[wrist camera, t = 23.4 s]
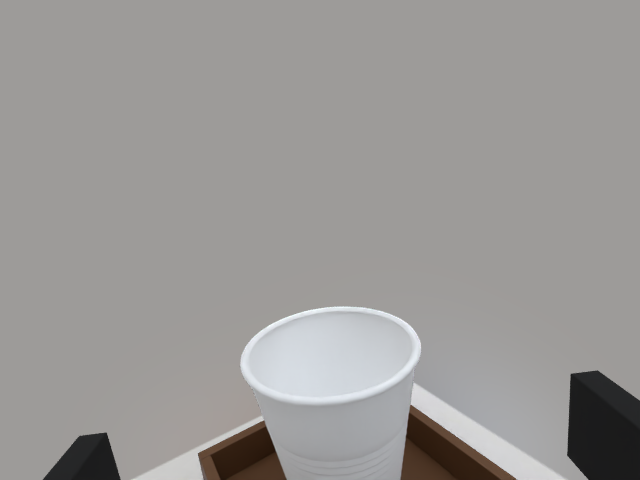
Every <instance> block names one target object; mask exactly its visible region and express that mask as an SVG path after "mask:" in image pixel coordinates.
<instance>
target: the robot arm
mask: <svg viewBox="0 0 640 480" xmlns="http://www.w3.org/2000/svg"><path fill="white" fill-rule="evenodd" d="M567 456H568V457H569V458H570V459H571V460H572V461H573V463H574V464H575V465H576V466H577V467H578V468H579V469H580V471H581V472H582V473H583V474H584V475H585V476H586V477H587V478H588V480H640V401H639V400H638V399H637V398H635V397H634V396H632V395H631V394H630V393H628V392H627V391H625V390H624V389H623V388H621V387H620V386H618V385H617V384H616V383H614V382H613V381H611V380H610V379H609V378H607V377H606V376H605V375H603V374H602V373H600V372H599V371H590V372H582V373H574V374H571V381H570V405H569V429H568V452H567ZM43 480H120V476H119V473H118V469H117V466H116V463H115V459H114V456H113V452H112V449H111V446H110V442H109V439H108V436H107V433H99V434H91V435H83V436H79V437H78V438H77V439H76V441H75V442H74V443H73V444H72V445H71V447H70V448H69V449H68V450H67V451H66V453H65V454H64V455H63V456H62V457H61V459H60V460H59V461H58V462H57V464H56V465H55V466H54V467H53V468H52V469H51V470H50V472H49V473H48V474H47V475H46V476H45V478H44V479H43Z"/></svg>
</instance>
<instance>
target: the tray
mask: <svg viewBox="0 0 640 480" xmlns="http://www.w3.org/2000/svg"><path fill="white" fill-rule="evenodd" d="M198 456H199V461H200V465H201V470H202V474H203V479H204V480H287V479H286V476H285V473H284V471H283V468H282V466H281V463H280V460H279V458H278V455H277V452H276V450H275V447H274V445H273V442H272V439H271V437H270V434H269V432H268V429H267V427H266V424H265V421H262V422H260V423H258V424H256V425H254V426H252V427H250V428H248V429H246V430H244V431H242V432H240V433H238V434H236V435H234V436H232V437H230V438H228V439H226V440H224V441H222V442H220V443H218V444H216V445H214V446H212V447H210V448H208V449H206V450H204V451H202V452H200V453H198ZM401 480H516V478H514V477H513V476H512V475H510V474H509V473H507V472H506V471H504V470H503V469H502V468H500V467H499V466H497V465H496V464H494V463H493V462H492V461H490V460H489V459H487V458H486V457H485V456H483V455H482V454H480V453H479V452H477V451H476V450H475V449H473V448H472V447H470V446H469V445H467V444H466V443H465V442H463V441H462V440H460V439H459V438H457V437H456V436H455V435H453V434H452V433H450V432H449V431H448V430H446V429H445V428H443V427H442V426H440V425H439V424H438V423H436V422H435V421H433V420H432V419H430V418H429V417H428V416H426V415H425V414H423V413H422V412H420V411H419V410H418V409H416V408H415V407H413V406H412V405H410V411H409V414H408V422H407V433H406V441H405V448H404V456H403V463H402V470H401Z"/></svg>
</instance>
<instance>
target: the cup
mask: <svg viewBox="0 0 640 480" xmlns="http://www.w3.org/2000/svg"><path fill="white" fill-rule="evenodd" d="M420 354H421V343H420V340H419V338H418V335H417V333H416V332H415V331H414V329H412V327H411V326H410V325H409V324H407V323H406V322H404V321H403V320H401V319H400V318H398V317H396V316H394V315H391V314H389V313H386V312H382V311H379V310H375V309H369V308H362V307H328V308H320V309H314V310H309V311H305V312H301V313H297V314H294V315H291V316H288V317H286V318H283V319H281V320H279V321H277V322H275V323H273V324H271V325H270V326H268V327H266V328H265V329H263V330H261V331H260V332H259V333H258V334H256V335H255V336H254V337H253V338H252V339H251V340H250V342H249V343H248V344H247V345H246V347H245V349H244V351H243V353H242V356H241V363H240V368H241V372H242V375H243V377H244V379H245V380H246V382H247V383H248V384H249V386H250V387H251V388H252V390H253V392H254V395H255V398H256V400H257V403H258V406H259V408H260V411H261V413H262V416H263V419H264V421H265V424H266V427H267V429H268V432H269V434H270V437H271V439H272V442H273V445H274V447H275V450H276V452H277V455H278V458H279V460H280V463H281V466H282V468H283V471H284V473H285V476H286V479H287V480H401V470H402V463H403V456H404V448H405V441H406V433H407V422H408V414H409V411H410V403H411V395H412V387H413V379H414V371H415V367H416V365H417V364H418V361H419V358H420Z"/></svg>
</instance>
